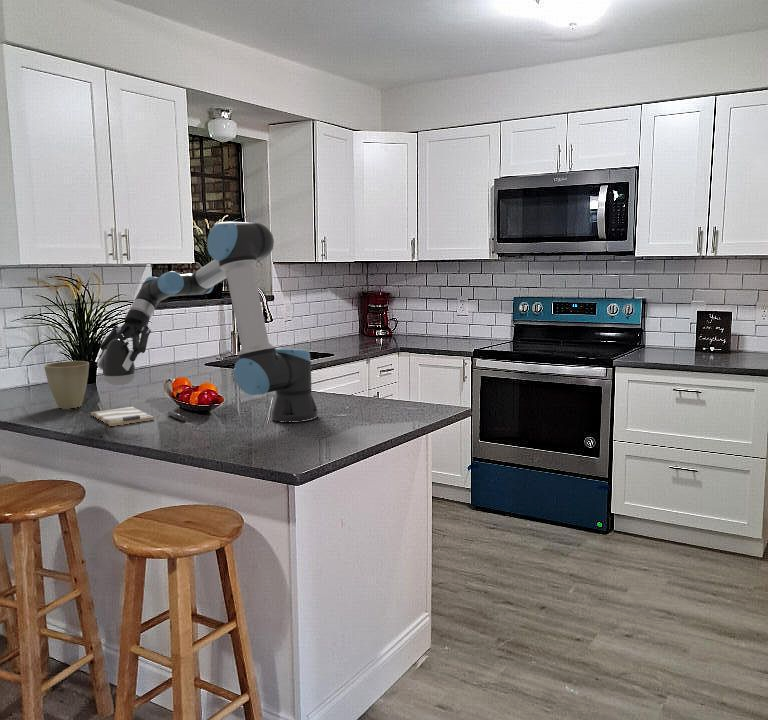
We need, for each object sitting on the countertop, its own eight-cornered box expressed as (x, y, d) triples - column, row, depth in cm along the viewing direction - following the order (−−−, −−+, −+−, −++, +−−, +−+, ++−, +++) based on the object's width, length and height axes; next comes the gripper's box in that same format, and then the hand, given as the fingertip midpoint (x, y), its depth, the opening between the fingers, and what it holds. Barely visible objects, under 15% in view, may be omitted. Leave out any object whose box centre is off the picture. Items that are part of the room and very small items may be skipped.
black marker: (187, 421, 242) (186, 416, 241) (182, 422, 241) (182, 417, 240) (171, 414, 252) (171, 410, 252) (167, 415, 252) (166, 410, 251)
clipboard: (154, 420, 244) (153, 413, 244) (110, 427, 236) (110, 420, 236) (132, 409, 262) (132, 403, 261) (91, 415, 253) (91, 409, 253)
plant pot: (40, 412, 261) (36, 367, 259) (59, 403, 276) (56, 361, 274) (81, 411, 261) (78, 366, 258) (99, 403, 275) (95, 360, 273)
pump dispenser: (118, 387, 240) (114, 341, 238) (97, 385, 245) (93, 339, 243) (143, 382, 249) (140, 337, 247) (122, 380, 254) (118, 336, 252)
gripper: (171, 322, 255) (146, 375, 243) (118, 321, 262) (90, 373, 250) (161, 308, 250) (134, 361, 237) (107, 308, 257) (78, 360, 244)
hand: (112, 367), depth 243 cm, fingers closed on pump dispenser, 9 cm apart
